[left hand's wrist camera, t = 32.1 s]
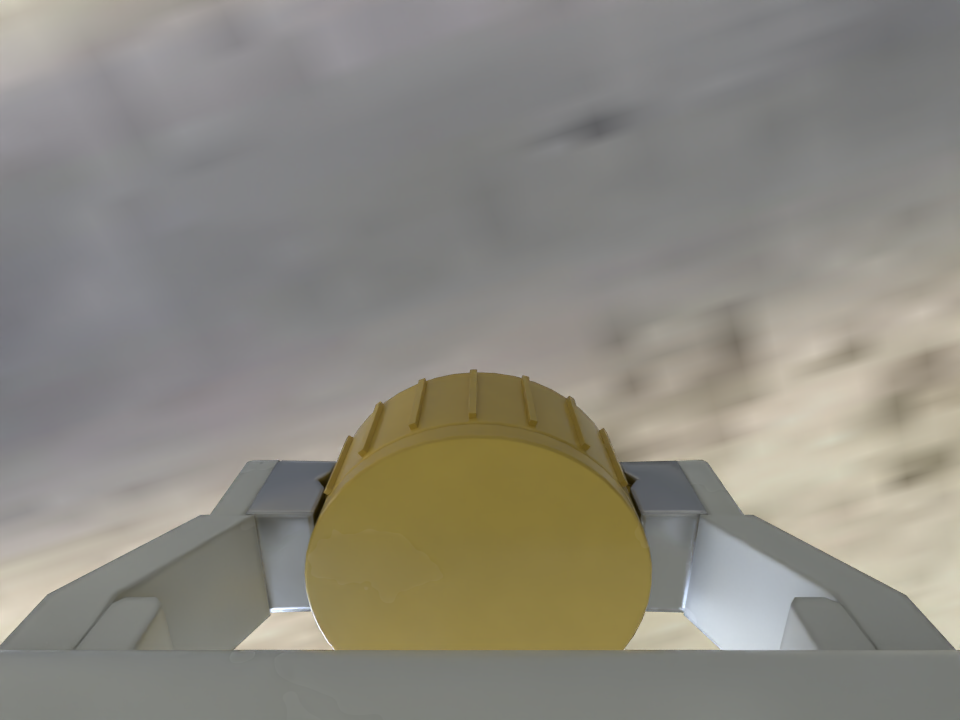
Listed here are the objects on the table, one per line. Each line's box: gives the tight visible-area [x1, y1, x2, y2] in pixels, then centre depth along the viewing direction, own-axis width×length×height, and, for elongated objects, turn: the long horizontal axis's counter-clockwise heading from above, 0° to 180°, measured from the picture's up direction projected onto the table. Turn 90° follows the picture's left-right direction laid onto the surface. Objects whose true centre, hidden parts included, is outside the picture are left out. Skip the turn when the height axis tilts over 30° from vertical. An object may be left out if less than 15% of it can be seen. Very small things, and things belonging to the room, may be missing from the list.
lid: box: [305, 370, 652, 650], centre depth 9 cm, size 5×5×2 cm
